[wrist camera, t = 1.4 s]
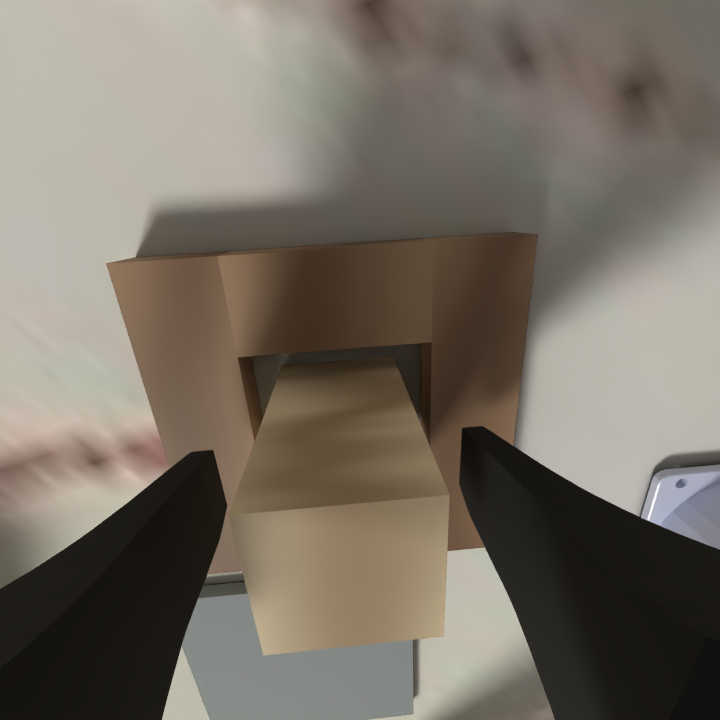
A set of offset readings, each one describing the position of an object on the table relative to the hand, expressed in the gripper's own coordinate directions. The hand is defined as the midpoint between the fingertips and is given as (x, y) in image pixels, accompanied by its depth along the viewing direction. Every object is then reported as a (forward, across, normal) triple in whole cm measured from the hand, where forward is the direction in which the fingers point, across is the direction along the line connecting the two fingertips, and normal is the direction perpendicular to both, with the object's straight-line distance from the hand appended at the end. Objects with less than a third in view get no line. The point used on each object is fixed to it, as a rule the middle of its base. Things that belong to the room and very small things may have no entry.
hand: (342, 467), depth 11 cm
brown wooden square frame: (+3, 0, 0) cm, 3 cm away
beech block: (+3, 0, 0) cm, 3 cm away
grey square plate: (+3, +3, +14) cm, 15 cm away
